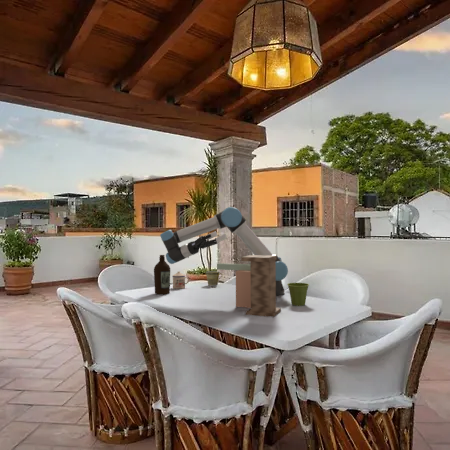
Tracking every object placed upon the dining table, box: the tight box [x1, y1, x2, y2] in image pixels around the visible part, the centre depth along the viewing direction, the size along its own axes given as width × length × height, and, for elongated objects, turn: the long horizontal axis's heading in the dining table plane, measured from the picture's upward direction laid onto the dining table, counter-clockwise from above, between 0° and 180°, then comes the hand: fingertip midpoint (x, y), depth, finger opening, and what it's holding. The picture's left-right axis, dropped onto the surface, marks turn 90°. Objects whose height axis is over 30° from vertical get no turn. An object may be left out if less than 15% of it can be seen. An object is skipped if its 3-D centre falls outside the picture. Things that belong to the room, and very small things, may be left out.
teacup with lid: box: [172, 270, 190, 290], centre depth 269 cm, size 12×9×12 cm
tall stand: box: [240, 254, 282, 318], centre depth 189 cm, size 16×14×28 cm
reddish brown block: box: [235, 270, 251, 309], centre depth 207 cm, size 14×14×19 cm
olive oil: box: [153, 254, 171, 296], centre depth 246 cm, size 11×11×25 cm
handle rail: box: [216, 262, 251, 271], centre depth 210 cm, size 26×6×4 cm, turn 68°
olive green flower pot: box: [205, 270, 223, 287], centre depth 278 cm, size 13×10×10 cm
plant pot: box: [286, 282, 310, 307], centre depth 207 cm, size 12×12×11 cm
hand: (221, 234), depth 216 cm, fingers open, 13 cm apart
